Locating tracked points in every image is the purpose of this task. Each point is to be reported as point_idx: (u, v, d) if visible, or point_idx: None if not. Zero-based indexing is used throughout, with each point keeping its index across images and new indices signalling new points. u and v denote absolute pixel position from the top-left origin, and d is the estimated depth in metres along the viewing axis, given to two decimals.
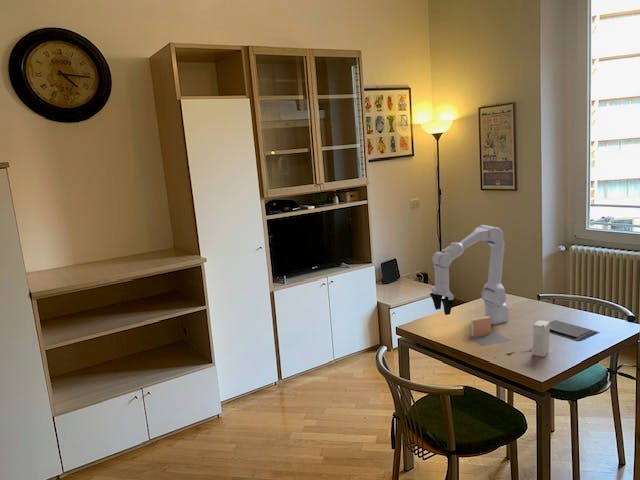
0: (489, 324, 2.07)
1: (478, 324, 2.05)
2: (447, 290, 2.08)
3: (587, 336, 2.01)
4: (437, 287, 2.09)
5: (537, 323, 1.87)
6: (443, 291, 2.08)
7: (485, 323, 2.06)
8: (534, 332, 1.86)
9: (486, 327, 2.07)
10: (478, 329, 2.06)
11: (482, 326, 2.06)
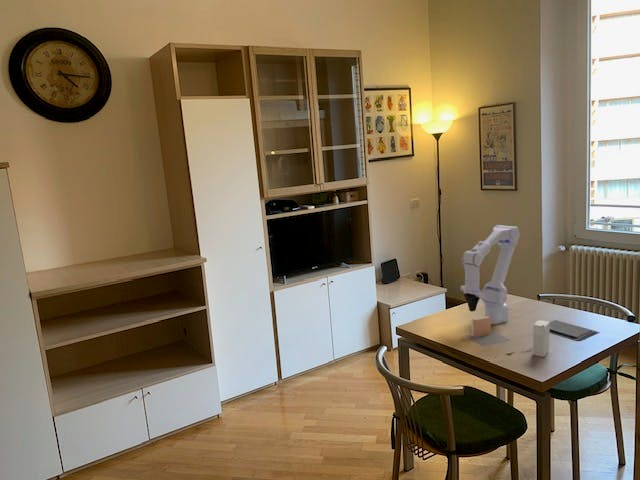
0: (489, 324, 2.07)
1: (478, 324, 2.05)
2: (477, 289, 2.07)
3: (587, 336, 2.01)
4: (468, 286, 2.08)
5: (537, 323, 1.87)
6: (474, 290, 2.07)
7: (485, 323, 2.06)
8: (534, 332, 1.86)
9: (486, 327, 2.07)
10: (478, 329, 2.06)
11: (482, 326, 2.06)
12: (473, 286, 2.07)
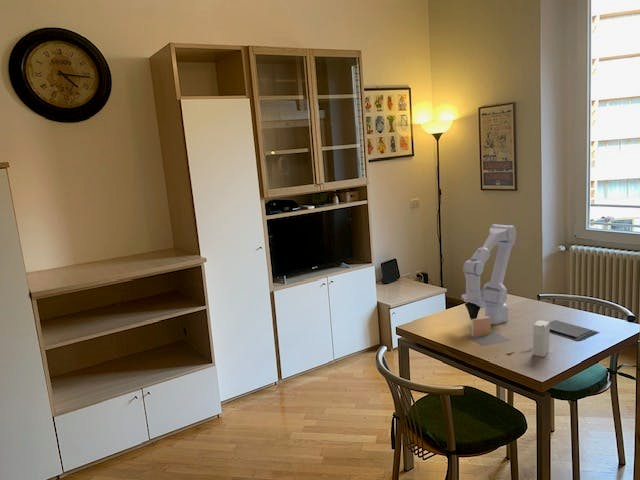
0: (489, 324, 2.07)
1: (478, 324, 2.05)
2: (478, 298, 2.08)
3: (587, 336, 2.01)
4: (468, 295, 2.08)
5: (537, 323, 1.87)
6: (475, 299, 2.07)
7: (485, 323, 2.06)
8: (534, 332, 1.86)
9: (486, 327, 2.07)
10: (478, 329, 2.06)
11: (482, 326, 2.06)
12: (474, 295, 2.07)
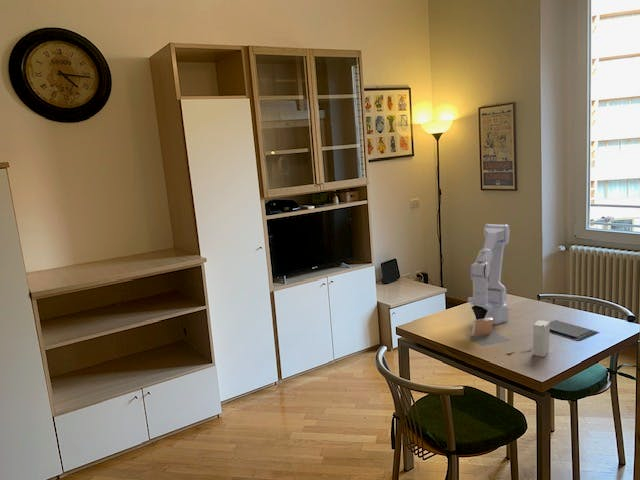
0: (491, 325, 2.06)
1: (480, 325, 2.04)
2: (485, 302, 2.03)
3: (587, 336, 2.01)
4: (475, 298, 2.04)
5: (537, 323, 1.87)
6: (482, 302, 2.03)
7: (487, 324, 2.05)
8: (534, 332, 1.86)
9: (487, 328, 2.06)
10: (479, 330, 2.05)
11: (483, 327, 2.05)
12: (481, 298, 2.02)
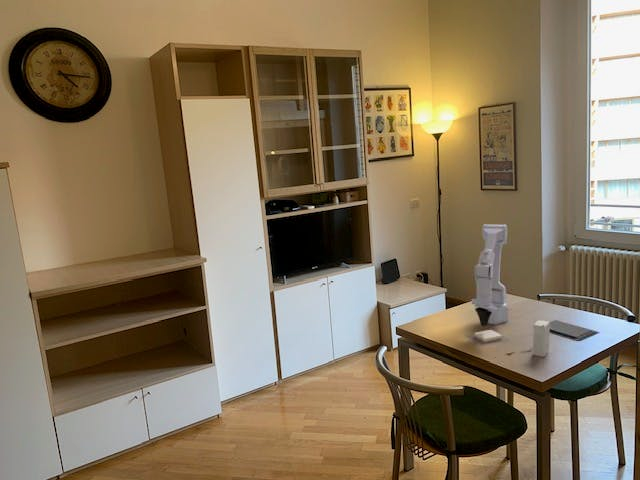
0: None
1: None
2: (489, 303, 2.01)
3: (587, 336, 2.01)
4: (479, 300, 2.01)
5: (537, 323, 1.87)
6: (486, 304, 2.00)
7: None
8: (534, 332, 1.86)
9: None
10: None
11: None
12: (485, 300, 2.00)
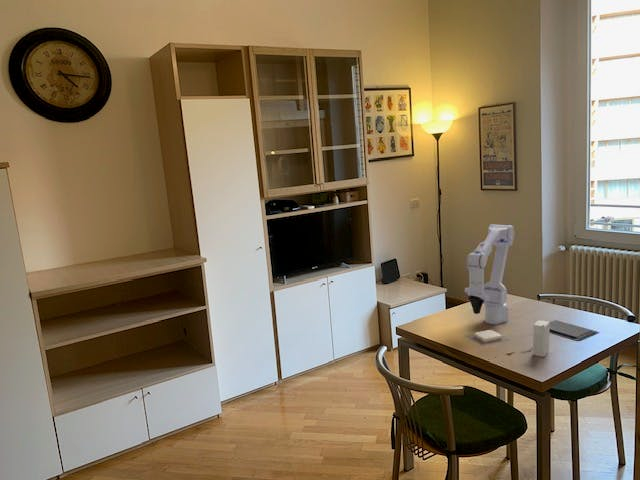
0: None
1: None
2: (482, 291, 2.05)
3: (587, 336, 2.01)
4: (472, 288, 2.05)
5: (537, 323, 1.87)
6: (478, 292, 2.04)
7: None
8: (534, 332, 1.86)
9: None
10: None
11: None
12: (477, 288, 2.04)
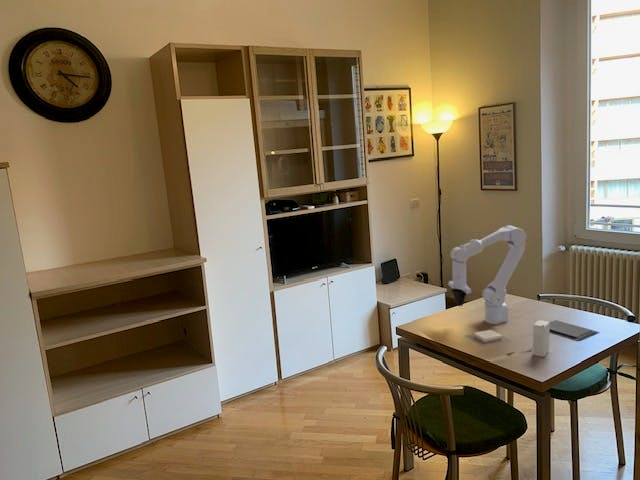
0: None
1: None
2: (464, 284, 2.15)
3: (587, 336, 2.01)
4: (455, 281, 2.15)
5: (537, 323, 1.87)
6: (461, 285, 2.14)
7: None
8: (534, 332, 1.86)
9: None
10: None
11: None
12: (460, 281, 2.14)
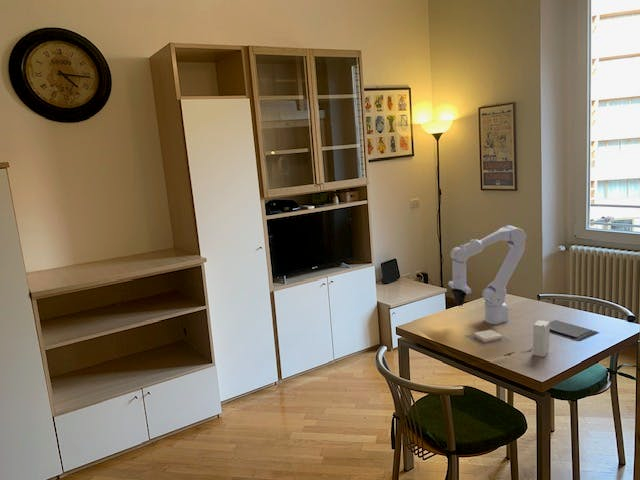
0: None
1: None
2: (464, 284, 2.15)
3: (587, 336, 2.01)
4: (455, 281, 2.15)
5: (537, 323, 1.87)
6: (461, 285, 2.14)
7: None
8: (534, 332, 1.86)
9: None
10: None
11: None
12: (460, 281, 2.14)
